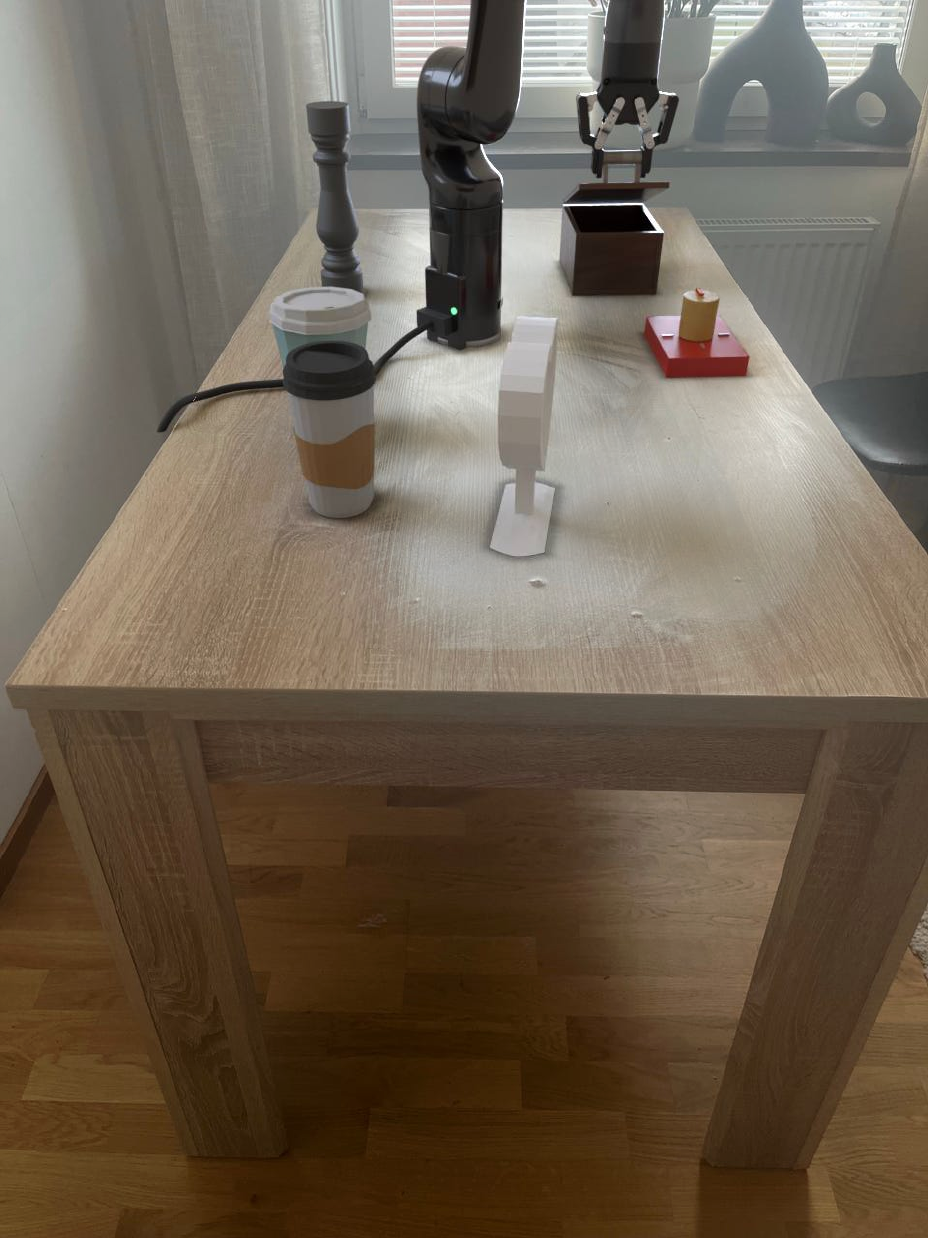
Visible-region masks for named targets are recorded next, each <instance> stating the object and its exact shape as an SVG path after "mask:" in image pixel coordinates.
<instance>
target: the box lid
mask: <svg viewBox="0 0 928 1238" xmlns="http://www.w3.org/2000/svg"><path fill="white" fill-rule="evenodd" d="M642 156H643V154H642V150H640V149H633V150H631V149H628V150H627V149H626V150H625V149H624V150H623V149H621V150H604V156H603V168H602V178H601V182H579V183H578V184H576V186H575V187H574V188H572V190H570V191H569V192H568V193H567V194H566V195H565V196H564V197H563V198H562V205H584V204H645V202H648V201H649V200H651V199H653V198H654V197H656V196H658V195H660V194H661V193H664V192H665V191H667V190H668V189H670V183H671V182H670V181H641V178H640V164H641V163H642ZM633 165H634V171H633V182H632V181H631V182H629V181H628V182H626V181H625V182H609V166H633Z"/></svg>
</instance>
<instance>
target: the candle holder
mask: <svg viewBox="0 0 928 1238" xmlns="http://www.w3.org/2000/svg"><path fill="white" fill-rule="evenodd" d="M305 109H306V110H305V111H306V119H307V130H308V134H310V138H311V141H312V142H313V143H314V147H315V148H316V150H315V152H314V153H313V154H312V160H313V162H314V163H315V164H316V166H317V167H318V175H319V186H320V191H319V197H318V208H317V217H316V225H315V229H316V234H317V236H318V238H319V240H320V242H321V243H322V244H323V248H324V249H323V250H325V251H326V252H325V253H324V254H323V257H322V258H321V260H320V263H321V267H322V269H321V270H320V280H321V287H338V288H346V289H352V290H355V291H357V292H360V293H362V294H364V295H365V289H364V288H365V287H364V275H363V268H361V267H360V266H359V265H360V264H361V260H360V257H359V256H358V255H357V253H356V252H355V250H354V248H355V242H356V241H357V239H358V237H359V234H360V224H359V221H358V218H357V214H356V211H355V208H354V205H353V200H352V197H351V194H350V190H349V184H348V183H349V181H348V169H347V166H348V162H350V161H351V158H352V157H351V153H350V152H349V151H348V150H346V146H347V143H348V141H349V139H350V135H349V133H350V132H351V120H350V119H351V118H350V105H349V103H348V102H345V101H340V100H339V101H338V100H323V101H321V100H320V101H314V102H309V103H307V104H305Z"/></svg>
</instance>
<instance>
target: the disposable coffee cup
mask: <svg viewBox="0 0 928 1238" xmlns="http://www.w3.org/2000/svg"><path fill="white" fill-rule="evenodd" d="M269 309H270V310H269V321H268V322H269V323H270V324H271V325H272V331H273V334H274V338H275V340H276V345H277V349H278V353H279V357H280V361H281V365H282V369H283V368H284V366H285V365H286V357H287V354H288V353H289V352H290V351H292V350H293V349H295V348H297V347H299V346H302V345H305V344H308V343H313V342H318V341H345V342H350V343H354V344H357V345H360V346H362V347H363V348H364V349H366V348H367V338H368V327H369V322H371V321H372V310H371V309H370V301H368V300H367V299H366V298H365V293H364V294H362V293H360V292H357V291H355V290H352V289H346V288H338V287H322V286H309V287H304V288H296V289H292V290H288V291H285V292H284V293H281V294H279V295H277V296H275V297H274V301H272V302H271V303H270V308H269ZM366 350H367V349H366Z"/></svg>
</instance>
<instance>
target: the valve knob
mask: <svg viewBox="0 0 928 1238" xmlns="http://www.w3.org/2000/svg"><path fill="white" fill-rule="evenodd" d="M720 298H721V297H720V295H719V294H718V293H716V292H713V291H710V290H704V289H703V290H702V288H701V287H695V289H693V290H689V291H686V292H685V293H684V294H683V297H682V304H681V310H680V316H681V317H680V324H679V331H678V335H679V336H680V337H681V338H683V339H685V340H689V341H696V342H701V341H708V340H710V339H712V338H713V335H714V329H715V323H716V317H717V315H718V311H719V304H720Z"/></svg>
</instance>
